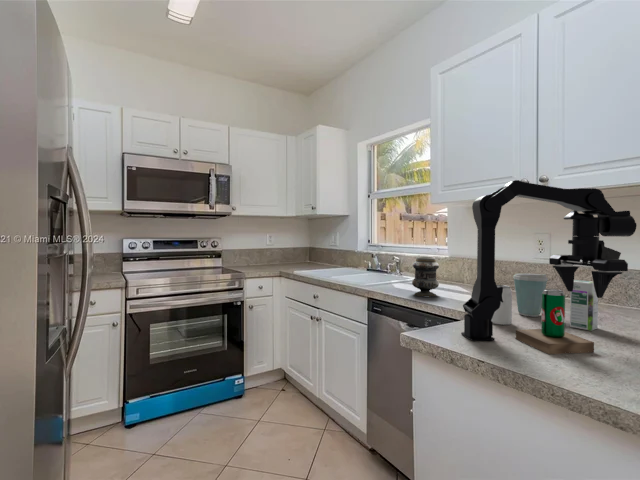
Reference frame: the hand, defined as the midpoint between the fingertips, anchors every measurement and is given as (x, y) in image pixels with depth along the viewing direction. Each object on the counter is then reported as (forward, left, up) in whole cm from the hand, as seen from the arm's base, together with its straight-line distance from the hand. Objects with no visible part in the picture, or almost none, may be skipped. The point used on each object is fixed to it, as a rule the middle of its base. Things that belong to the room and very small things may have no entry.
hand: (584, 294), depth 92 cm
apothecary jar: (-15, +69, -13) cm, 72 cm away
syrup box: (+12, +12, -13) cm, 21 cm away
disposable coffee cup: (+7, +29, -13) cm, 33 cm away
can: (-10, +20, -13) cm, 26 cm away
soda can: (-10, -2, -11) cm, 15 cm away
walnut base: (-10, -2, -13) cm, 17 cm away
